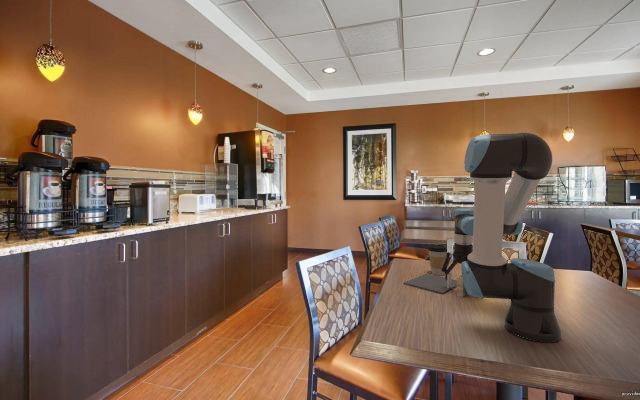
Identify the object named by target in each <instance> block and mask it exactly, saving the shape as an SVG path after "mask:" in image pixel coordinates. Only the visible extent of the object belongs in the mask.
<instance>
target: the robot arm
mask: <svg viewBox="0 0 640 400" xmlns="http://www.w3.org/2000/svg"><path fill="white" fill-rule="evenodd" d="M552 152H553V151H552V150H551V147H550V145H549V144H548V143H547V141H545V140H544V139H543V138H542V137H540V136H539V135H537V134H535V133H532V132H531V133H530V132H515V133H514V132H513V133H493V134H492V133H491V134H490V133H487V134H481V135H475V136H473V137H472V138H471V139H470V141H469V142H468V144H467V147H466V150H465V155H464V171H465V172H466V173H468V174H469V179H471V180H472V182H474V198H473V201H474V202H473V203H474V204H473V209H471V208H456V209H455V210H454V231H453V232H454V233H453V234H454V236H453V237H454V238H453V242H454V243H453V252H451V251H449V252H448V251H447V252H446V260H445V262H444V265H443V267H442V270H441V271H442V272H444V274H445V275H444V276H445V277H444V278H445V279H446V280H447V288H450V287H451V279H452V271H453V269H454V268H455V266H456V265H458V264H461V265H460V267H461V268H460V269H461V275H462V278H463V282H464V286H465V289H466V291H467V293H468V294H467V295H469V296H470V297H472V298H473V297H474V298H481V299H499V300H510V306H509V308H508V309H507V312H506V315H505V317H504V328H505V327H506V328H505V330H507V331H508V330H509V331H510V332H509V331H508V332H509V333H511V332H512V333H514V334H516V335H519V336H521V337H524V338H528V339H531V340H530V341H532V340H535V341H534V342H537V341H542V342H541V343H546V342H551V343H555V342H554V341H557V342H559V341H560V340H561V339H562V330H561V327H560V324H559V321H558V319H557V316H556V314H555V289H556V288H555V284H556V277H555V270H554V268H553V267H551V266H550V265H549V264H546V263H544V262H540V261H536V260H531V259H526V258H521V257H520V258H518V257H517V258H514V257H513V258H511V260H510V263H508V261H507V260H508V259H506V258H505V257H504V256H503V243H504V242H503V238H504V236H505V235H506V236H515V235H520V234H521V233H522V231H523V227H524V224H523V220H522V218H521V217H522V215H523V213H524V211H525V209H526V207H527V206H528V204H529V202H530V200H531V199H532V196H533V194H534V192H535V190H536V188H537V187H538V185H539V183H540V181H541V180H543V179H544V178H546V177H547V176H548V174H549V173H550V171H551V168H552V164H553V153H552ZM509 180H510V183H509V185H508V188H507V189H506V186H507V184H506V183H507V182H509ZM452 257H453V258H454V260H453V261H452V263H451V264H450V261H451V259H452ZM449 264H450V266H449ZM512 333H511V334H512ZM514 334H513V335H514ZM516 335H515V336H516ZM519 336H518V337H519ZM521 337H520V338H521ZM524 338H523V339H524ZM560 338H561V339H560ZM528 339H527V340H528ZM559 339H560V340H559ZM558 340H559V341H558Z"/></svg>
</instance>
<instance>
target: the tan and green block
mask: <svg viewBox="0 0 640 400" xmlns="http://www.w3.org/2000/svg"><path fill="white" fill-rule="evenodd" d="M456 280H457V287H456V296H458V297H462V298H463V297H465V296H467V295H469V294H468V293H467V291H466V289H465V286H464V282H463V278H462V274H461V275H459V276H457V277H456Z"/></svg>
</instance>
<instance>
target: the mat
mask: <svg viewBox="0 0 640 400" xmlns="http://www.w3.org/2000/svg"><path fill="white" fill-rule="evenodd" d="M403 285H405V286H409V287H413V288H417V289H421V290H424V291H429V292H432V293H436V294H440V295H444V294H447V293H449V292H451V291H452V290H453V289H457V279H452V278H451V287H450V288H447V280H446V279H445V277H444V276H443V277H442V276H440V275H434V274H431V273H429V274H428V273H424V274H422V275H419V276H417V277H414V278H412V279H409V280H407V281H403Z"/></svg>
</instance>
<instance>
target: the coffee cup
mask: <svg viewBox="0 0 640 400" xmlns="http://www.w3.org/2000/svg"><path fill="white" fill-rule="evenodd" d="M427 249H428V253H429V255H428V258H429V265H430V269H431V275H435V276H443V275H444V274H445V272H442V271H441V270H442V267H443V265H444V262H445V260H446V258H447V253H448V249H447V247H446V246H444V245H438V244H437V245H436V244H435V245H429V246H428V248H427Z"/></svg>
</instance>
